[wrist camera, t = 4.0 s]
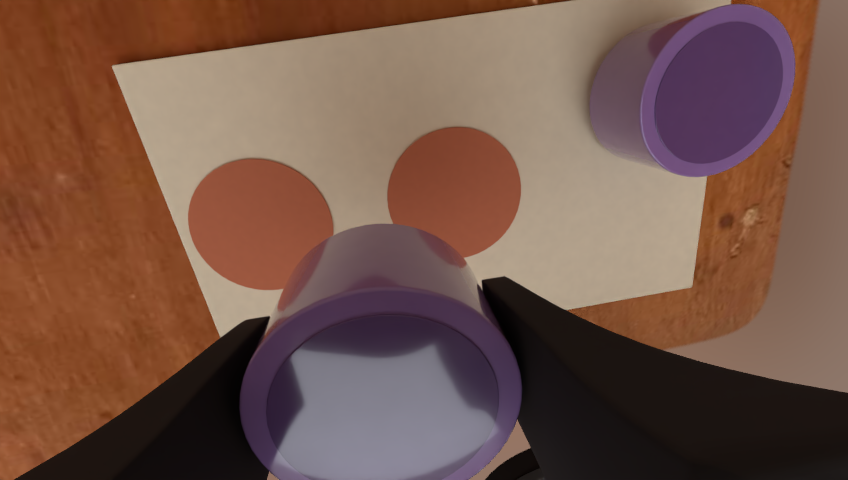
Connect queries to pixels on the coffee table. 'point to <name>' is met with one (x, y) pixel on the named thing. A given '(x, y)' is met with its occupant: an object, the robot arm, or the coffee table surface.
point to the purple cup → (694, 90)
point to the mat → (416, 154)
